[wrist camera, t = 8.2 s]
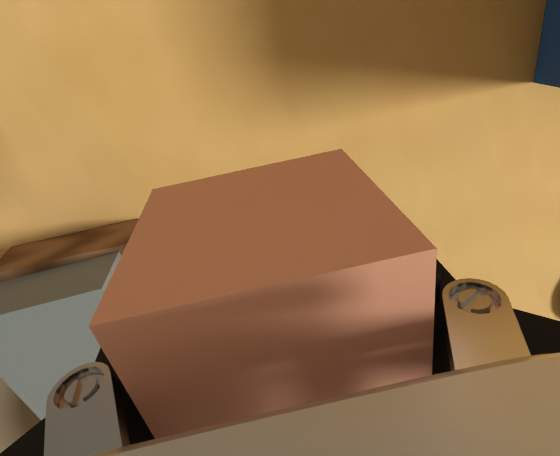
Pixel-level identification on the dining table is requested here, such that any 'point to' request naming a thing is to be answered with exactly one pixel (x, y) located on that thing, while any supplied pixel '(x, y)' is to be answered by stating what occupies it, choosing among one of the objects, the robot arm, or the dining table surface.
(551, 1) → the milk carton
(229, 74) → the dining table surface
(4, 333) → the slate top block
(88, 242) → the walnut base block
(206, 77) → the dining table surface
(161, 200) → the terracotta block
